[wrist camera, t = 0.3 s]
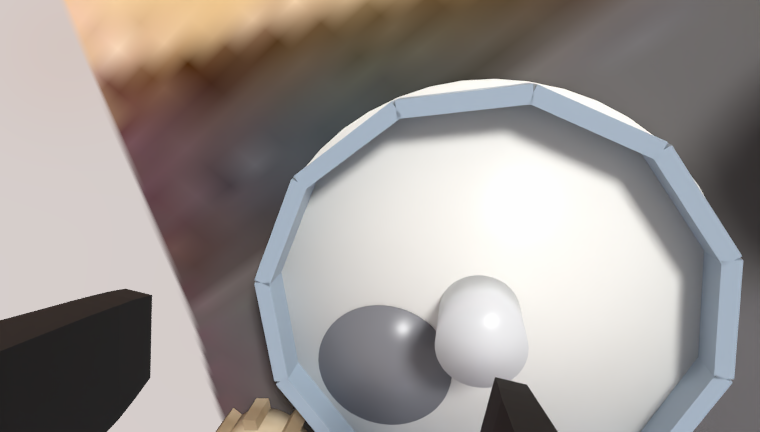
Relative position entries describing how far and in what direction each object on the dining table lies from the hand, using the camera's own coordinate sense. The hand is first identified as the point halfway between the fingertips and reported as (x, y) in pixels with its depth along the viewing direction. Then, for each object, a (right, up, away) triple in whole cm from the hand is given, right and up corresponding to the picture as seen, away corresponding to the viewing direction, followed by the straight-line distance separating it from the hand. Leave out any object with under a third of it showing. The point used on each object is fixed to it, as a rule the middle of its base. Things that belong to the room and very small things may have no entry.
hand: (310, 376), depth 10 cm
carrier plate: (+5, 0, +9) cm, 11 cm away
